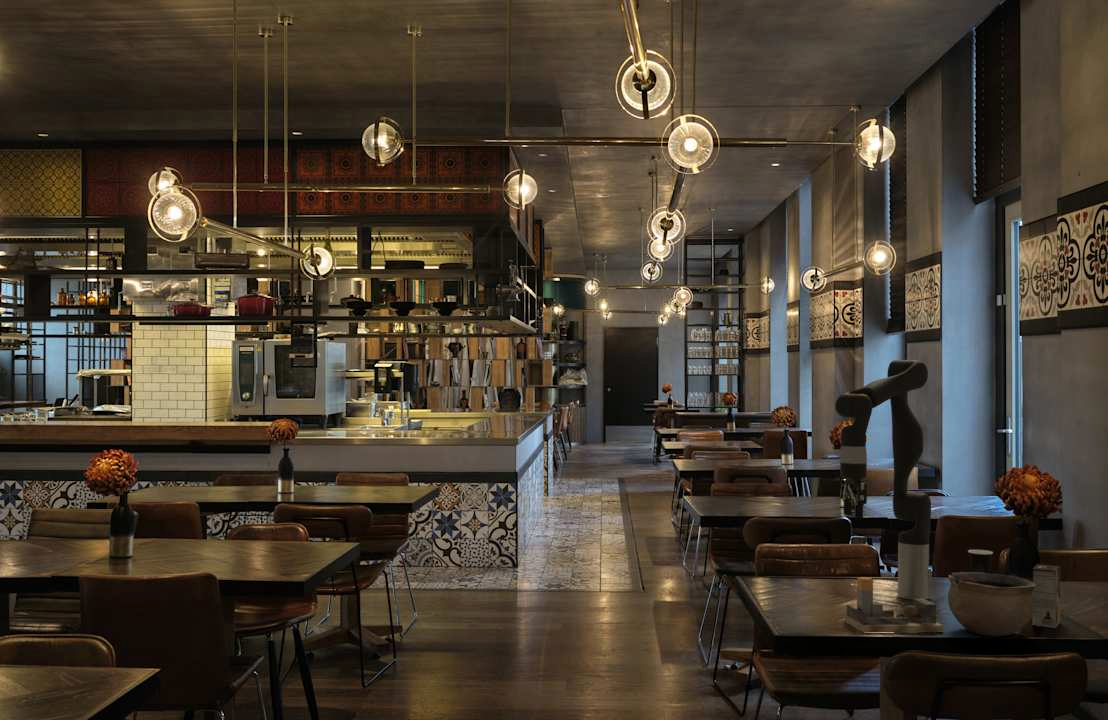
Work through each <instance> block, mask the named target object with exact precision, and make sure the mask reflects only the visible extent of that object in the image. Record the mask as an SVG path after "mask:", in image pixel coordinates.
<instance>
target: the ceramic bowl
mask: <svg viewBox="0 0 1108 720" xmlns="http://www.w3.org/2000/svg"><path fill="white" fill-rule="evenodd" d="M948 579H949V582H950V586H949V589H948V591H947V592H948V593H947V601H948V606H949V609H950V612H951V613H952V615H953V616H954V618H955V619H956V621H957V622H958V623H959V625H961V626H962V627H963V628H964V629H966V630H967V631H969V632H971V633H973V634H976V635H981V636H987V637H1004V636H1011V635H1013V634H1016V633H1018V631H1020V630H1021V629H1022V628H1023V627H1024V626H1026V625H1027V624H1028V623H1030V621H1031V619H1032V615H1033V613H1034V598H1033V595H1032V592H1033V590H1034V588H1035V586H1036V585H1035V584H1034V583H1032V581H1030V580H1029V579H1026V578H1022V577H1017V576H1012V575H1007V574H999V573H990V574H988V573H983V572H971V571H968V572H967V571H959V572H958V571H957V572H952V573H951V574H948Z"/></svg>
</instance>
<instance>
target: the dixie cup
mask: <svg viewBox="0 0 1108 720" xmlns="http://www.w3.org/2000/svg"><path fill="white" fill-rule="evenodd" d="M967 552H968V555H969V556H968V557H969V559H968V560H969V566H970V572H983V573H988V574H991V567H992V561H993V560H992V558H993V554H994V552H993V551H991V550H986V549H969V550H967Z"/></svg>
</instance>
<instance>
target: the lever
mask: <svg viewBox="0 0 1108 720" xmlns="http://www.w3.org/2000/svg"><path fill="white" fill-rule="evenodd" d="M856 578H857V579H856V580H857V581H856V584H857V585H856V609H858V610H859V611H861V612H863V613H865V614H866V618H884V617H883V610H884V604H883V603H881V602H879V601H875V600H874V579H873V578H871V577H870V576H866V577H865V576H863V577H862V576H861V577H860V576H859V577H856Z"/></svg>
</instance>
